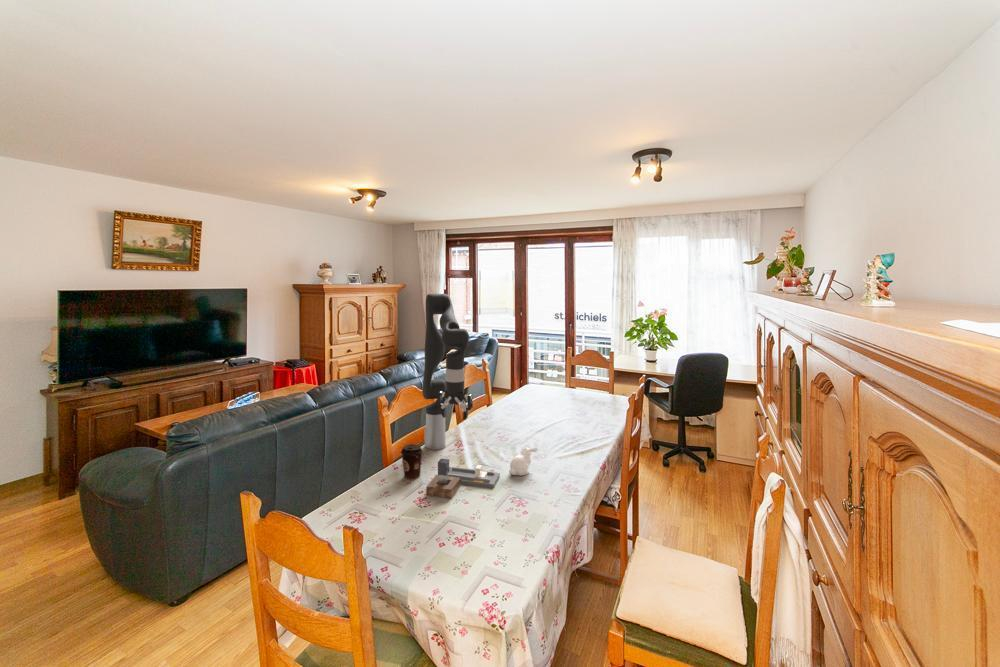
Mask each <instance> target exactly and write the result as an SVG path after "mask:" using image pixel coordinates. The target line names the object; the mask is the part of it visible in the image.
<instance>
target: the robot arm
mask: <svg viewBox="0 0 1000 667" xmlns="http://www.w3.org/2000/svg"><path fill="white" fill-rule="evenodd" d="M434 315H441V316H440V318H439V326H440V328H441V330H442V333H441V331H440V330H439V329H438V327H437V324H436V322H435V318H434ZM469 340H470V335H469V331H468V330H467V329H466V328H460V325H459V322H458V321H457V318H456V315H455V311H454V307H453V302H452V299H451V297H450V295H449V294H447V293H428V294H426V298H425V338H424V366H423V367H424V370H423V377H422V387H421V388H422V389H421V390H422V396H423V398H424V399H425V400H435V401H433V402H432V403H429V404H428V405H427V406H426V407H425V423H426V424H425V427H424V429H423V430H424V448H425V449H428V450H433V451H438V450H442V449H444V448H446V417H447V406H448V405H449V404H450V405H455V406H460V408H461V409H462V410H463V411H462V420H463V421H466V420H467V419H468V417H469V415H468V414H469V411H471V410H473V402H474V401H473V394H472V393H470V394H466V393H465V378H466V376H465V356H466V350H467V347H468V344H469ZM446 348H456V350H455V351H451V352H449V353H447V354H446V357H445V352H446ZM444 357H445V378H444V379H443V378H436V379H432V377H433V375H434V373H435V371H436V369H437V368H438V367H439V365H440V364H441V362H442V360H443V359H444ZM465 400H466V401H467V403H466V401H465Z"/></svg>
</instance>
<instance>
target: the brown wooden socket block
mask: <svg viewBox="0 0 1000 667" xmlns="http://www.w3.org/2000/svg"><path fill="white" fill-rule="evenodd" d="M460 487H461V484H460V478H459V477H451V476H449V484H448V485H440V484H439V475H438V474H436V475H434V477H433V478H432V479H431V480H430V482H428V484H427V485H426V487H425V489H426V490H425V491H426V492H425V493H426V496H429V497H437V498H443V499H449V500H450V499H451V500H452V499H453V498H454V496H455V494H456V493H457V492H458V490H459V489H460Z"/></svg>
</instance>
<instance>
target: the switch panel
mask: <svg viewBox="0 0 1000 667" xmlns="http://www.w3.org/2000/svg"><path fill="white" fill-rule="evenodd" d="M482 471H483V472H487V476H486V478H480V477H475V468H466V467H458V466H452V467H451V466H449V476H451V477H459V478H460V485H468V486H476V487H483V488H489V489H494V488H495V486H496V485H497V482H498V481H499V479H500V476H501V474H500V472H495V471H491V470H483V469H482Z"/></svg>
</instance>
